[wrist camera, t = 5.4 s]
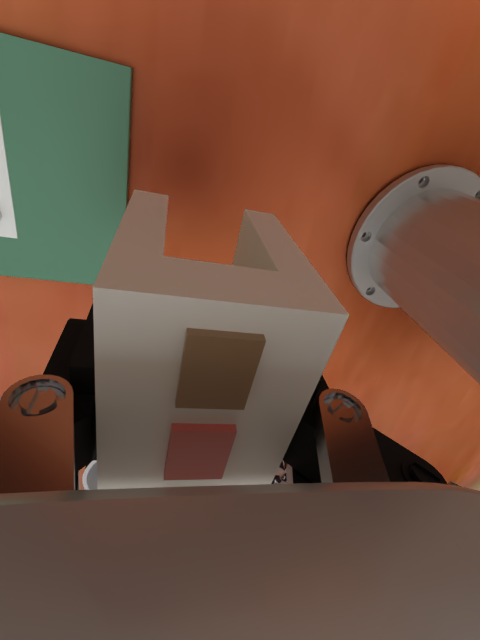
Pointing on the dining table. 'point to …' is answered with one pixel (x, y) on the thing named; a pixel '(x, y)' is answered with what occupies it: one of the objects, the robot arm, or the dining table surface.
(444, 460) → the dining table surface
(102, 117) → the board
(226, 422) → the white box
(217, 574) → the robot arm
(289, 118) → the dining table surface
